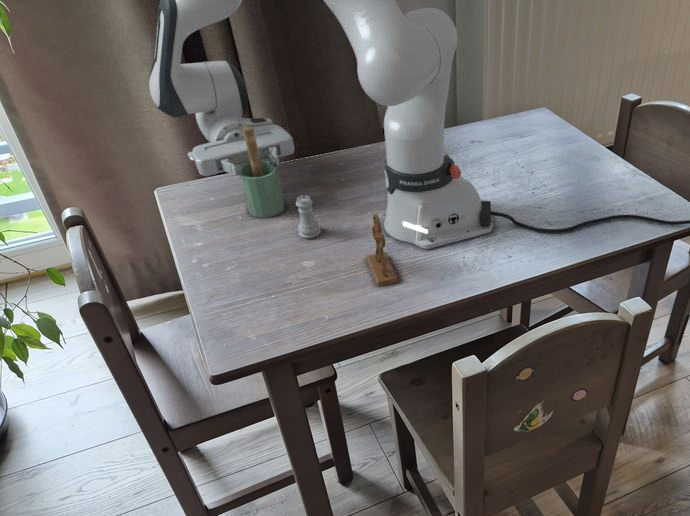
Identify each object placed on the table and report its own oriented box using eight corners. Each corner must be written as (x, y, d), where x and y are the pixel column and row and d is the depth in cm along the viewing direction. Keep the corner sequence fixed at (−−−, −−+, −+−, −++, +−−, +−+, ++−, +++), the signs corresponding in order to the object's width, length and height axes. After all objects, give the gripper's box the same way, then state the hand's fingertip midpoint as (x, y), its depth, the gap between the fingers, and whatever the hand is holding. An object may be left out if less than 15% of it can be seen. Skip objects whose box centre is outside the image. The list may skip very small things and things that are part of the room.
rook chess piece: (299, 240, 126) (292, 205, 121) (298, 228, 129) (291, 193, 124) (321, 238, 127) (315, 202, 121) (320, 226, 130) (314, 191, 124)
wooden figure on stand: (366, 259, 122) (359, 204, 113) (386, 255, 123) (381, 200, 114) (377, 286, 116) (371, 230, 107) (398, 282, 117) (393, 226, 108)
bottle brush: (274, 200, 136) (256, 123, 124) (274, 208, 133) (257, 131, 122) (256, 202, 135) (237, 125, 124) (257, 211, 133) (238, 133, 121)
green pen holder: (283, 197, 138) (275, 158, 132) (285, 214, 133) (277, 175, 127) (248, 201, 137) (238, 162, 130) (249, 219, 131) (239, 180, 125)
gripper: (180, 137, 129) (200, 165, 121) (276, 115, 137) (301, 140, 129) (189, 166, 133) (209, 194, 125) (281, 143, 142) (306, 168, 134)
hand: (257, 166), depth 127 cm, fingers open, 6 cm apart
